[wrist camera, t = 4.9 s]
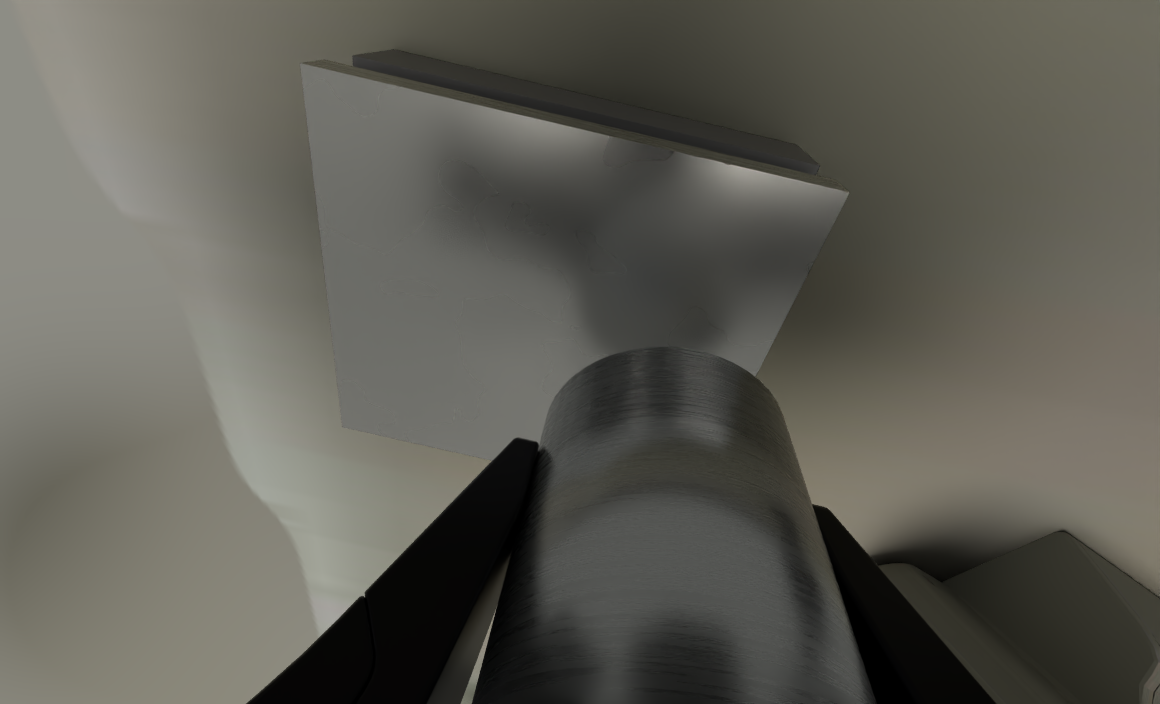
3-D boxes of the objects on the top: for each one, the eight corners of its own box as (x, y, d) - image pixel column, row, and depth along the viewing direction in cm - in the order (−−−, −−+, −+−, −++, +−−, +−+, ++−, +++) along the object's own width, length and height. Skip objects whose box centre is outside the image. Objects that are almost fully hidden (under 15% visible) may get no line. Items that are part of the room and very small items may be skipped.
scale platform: (835, 180, 10) (849, 192, 9) (688, 483, 15) (689, 504, 14) (324, 59, 9) (300, 63, 9) (356, 408, 15) (342, 427, 14)
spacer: (832, 381, 8) (1021, 766, 4) (732, 539, 11) (783, 874, 6) (566, 319, 8) (476, 646, 4) (530, 493, 10) (452, 803, 6)
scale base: (796, 144, 12) (820, 165, 10) (682, 413, 17) (685, 455, 16) (380, 46, 12) (337, 52, 10) (390, 347, 17) (362, 383, 15)
